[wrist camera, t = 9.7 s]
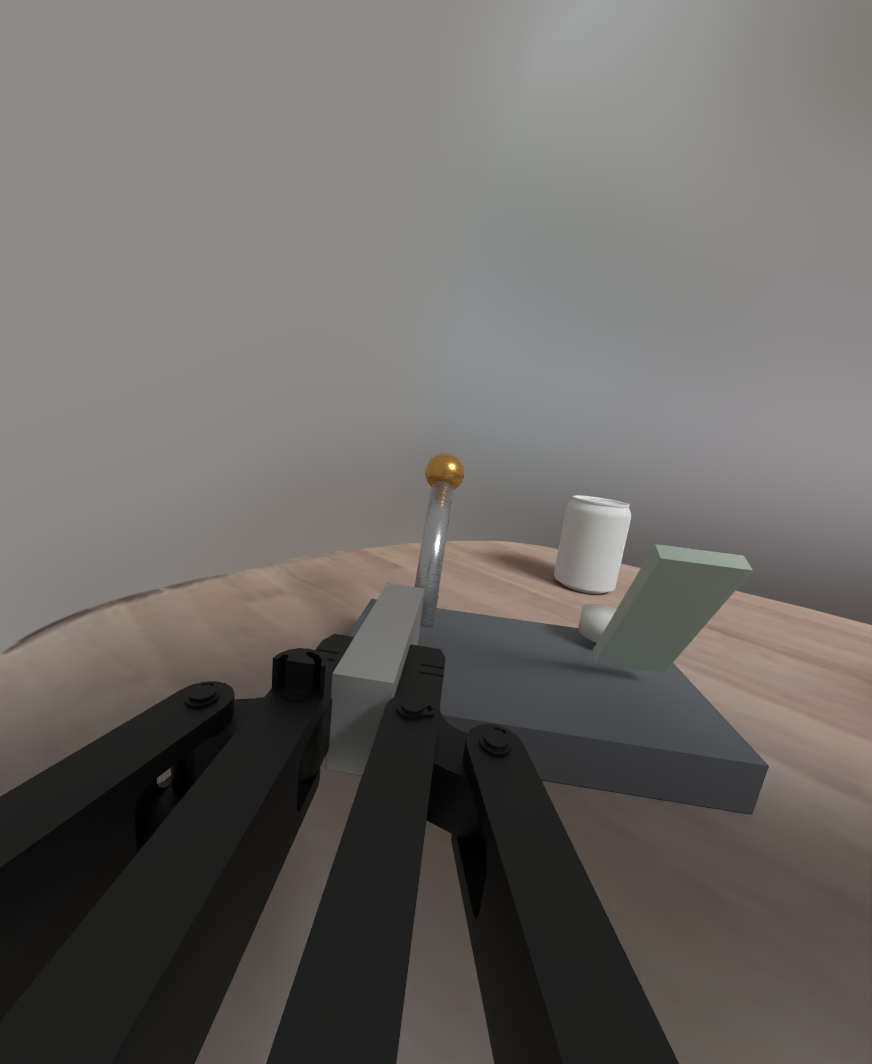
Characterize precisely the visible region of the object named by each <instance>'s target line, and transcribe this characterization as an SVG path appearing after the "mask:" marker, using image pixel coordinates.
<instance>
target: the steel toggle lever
mask: <svg viewBox="0 0 872 1064" xmlns="http://www.w3.org/2000/svg"><path fill="white" fill-rule="evenodd" d="M425 475H426V479H427V482H428V483H429V485H430V486H431V492H430V498H429V504H428V510H427V515H426V521H425V527H424V533H423V539H422V545H421V551H420V557H419V563H418V569H417V575H416V581H415V587H417V588H424V598H423V606H422V614H421V623H420V627H424V628H432V627H434V620H435V613H436V606H437V599H438V592H439V585H440V578H441V571H442V564H443V557H444V550H445V543H446V537H447V530H448V523H449V515H450V509H451V502H452V494H453V490H454V489H456V488H457V487H458V486H459V485H460V484H461V482H462V480H463V477H464V468H463V465H462V463H461V462H460V460H459V459H458V458H457V457H455V456H454V455H452V454H447V453H442V454H438V455H436V456H434V457H433V458H432V459H431V460H430V461H429V462H428V464H427V467H426V471H425Z"/></svg>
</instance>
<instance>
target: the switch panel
mask: <svg viewBox="0 0 872 1064" xmlns="http://www.w3.org/2000/svg"><path fill="white" fill-rule="evenodd" d="M376 601H377V600H376V599H371V600H370V602H369V604H368V605H367V607H366V608H365V610H364V611H363V613H362V615H361V616H360V618H359V619H358V621H357V622H356V624H355V626H354V627H353V629H352V630H351V632H350V633H349V635H348V636H351V637H355V636H356V634H357V632H358V631H359V629H360V627H361V626H362V624H363V622H364V621H365V619H366V618H367V616H368V614H369V613H370V611H371V609H372V608H373V606H374V604H375V603H376ZM596 644H597V643H596V642H593V641H591V640H589V639H587V638H585V637H584V636H582V635H581V634H580V633H579V631H578V628H572V627H565V626H558V625H551V624H544V623H537V622H530V621H523V620H516V619H509V618H502V617H495V616H488V615H481V614H474V613H467V612H460V611H453V610H446V609H439V608H436V613H435V620H434V627H432V628H424V627H420V631H419V640H418V646H425V647H431V648H438V649H441V651H442V652H443V654H444V656H445V657H446V661H445V669H444V677H443V686H442V694H441V702H440V711H441V714H442V716H443V718H444V719H445V720H446V721H447V722H448V723H449V724H450V725H452V726H453V727H455V728H457V729H459V730H461V731H463V732H465V733H468V732H469V731H470V729H472V728H474V727H475V726H477V725H482V724H493V725H499V726H501V727H504V728H506V729H509V730H510V731H512V732H513V733H514V734H516V735H517V736H518V737H519V739H520V740H521V741H522V743H523V744H524V746H525V748H526V750H527V752H528V754H529V756H530V758H531V760H532V762H533V765H534V767H535V769H536V771H537V773H538V775H539V777H540V779H541V780H546V781H552V782H558V783H564V784H570V785H576V786H582V787H588V788H595V789H601V790H607V791H613V792H619V793H625V794H631V795H637V796H643V797H650V798H656V799H662V800H668V801H674V802H680V803H686V804H692V805H698V806H705V807H711V808H717V809H723V810H729V811H735V812H741V813H747V814H752V813H753V810H754V807H755V804H756V802H757V799H758V796H759V793H760V790H761V787H762V784H763V781H764V779H765V776H766V773H767V770H768V767H769V766H768V765H767V764H766V762H765V761H764V760H763V759H762V758H761V757H760V756H759V755H758V754H757V753H756V752H755V751H754V750H753V748H752V747H751V746H750V745H749V744H748V743H747V742H746V741H745V740H744V739H743V738H742V737H741V736H740V734H739V733H738V732H737V731H736V730H735V729H734V728H733V727H732V726H731V725H730V724H729V723H728V722H727V720H726V719H725V718H724V717H723V716H722V715H721V714H720V713H719V712H718V711H717V710H716V709H715V708H714V706H713V705H712V704H711V703H710V702H709V701H708V700H707V699H706V698H705V697H704V696H703V695H702V694H701V692H700V691H699V690H698V689H697V688H696V687H695V686H694V685H693V684H692V683H691V682H690V681H689V680H688V678H687V677H686V676H685V675H684V674H683V673H682V672H681V671H680V670H679V669H678V668H677V667H676V666H675V664H674V663H672V664H671V665H670V666H669V667H668V668H667V670H666V671H665V672H664V673H658V672H651V671H644V670H637V669H631V668H624V667H617V666H610V665H603V664H597V663H595V660H594V655H593V649H594V647H595V645H596Z"/></svg>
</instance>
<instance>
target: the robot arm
mask: <svg viewBox="0 0 872 1064" xmlns="http://www.w3.org/2000/svg"><path fill="white" fill-rule="evenodd" d="M423 598H424V588H417V587H410V586H403V585H396V584H389V583H387V585H386V586H385V588H384V590H383V591H382V593H381V594H380V596H379V598H378V599H377V601H376V603H375V604H374V606H373V608H372V609H371V611H370V613H369V614H368V616H367V618H366V619H365V621H364V622H363V624H362V626H361V627H360V629H359V631H358V632H357V634H356V636H355V637H351V636H344V635H337V634H334V635H332V636H330V637H328V638H326V639H325V640H323V641H322V642H321V643H320V645H319V646H318V647H317V649H316V650H312V649H302V648H298V649H291V650H287V651H284V652H282V653H279V654H278V655H276V656H275V657H274V658H273V669H272V689H271V690H270V691H269V692H268V694H267V695H266V696H265V697H263V698H255V699H237V700H234V691H233V689H232V687H231V686H229V685H227V684H226V683H221V682H216V681H215V682H211V681H210V682H202V683H198V684H193V685H190V686H188V687H186V688H184V689H182V690H180V691H178V692H176V693H175V694H173V695H171V696H170V697H168V698H166V699H164V700H163V701H161V702H159V703H158V704H156V705H154V706H153V707H151V708H149V709H148V710H146V711H144V712H143V713H141V714H139V715H137V716H136V717H134V718H132V719H131V720H129V721H127V722H126V723H124V724H122V725H121V726H119V727H117V728H116V729H114V730H112V731H110V732H109V733H107V734H105V735H104V736H102V737H100V738H99V739H97V740H95V741H94V742H92V743H90V744H89V745H87V746H85V747H83V748H82V749H80V750H78V751H77V752H75V753H73V754H72V755H70V756H68V757H67V758H65V759H63V760H62V761H60V762H58V763H56V764H55V765H53V766H51V767H50V768H48V769H46V770H45V771H43V772H41V773H40V774H38V775H36V776H35V777H33V778H31V779H29V780H28V781H26V782H24V783H23V784H21V785H19V786H18V787H16V788H14V789H13V790H11V791H9V792H7V793H6V794H4V795H2V796H1V797H0V1064H195V1061H196V1059H197V1057H198V1055H199V1052H200V1050H201V1048H202V1046H203V1043H204V1041H205V1039H206V1037H207V1034H208V1032H209V1030H210V1028H211V1025H212V1023H213V1021H214V1019H215V1017H216V1014H217V1012H218V1010H219V1008H220V1005H221V1003H222V1001H223V999H224V996H225V994H226V992H227V990H228V987H229V985H230V983H231V981H232V978H233V976H234V974H235V972H236V969H237V967H238V965H239V963H240V960H241V958H242V956H243V954H244V951H245V949H246V947H247V945H248V942H249V940H250V938H251V936H252V933H253V931H254V929H255V927H256V924H257V922H258V920H259V918H260V916H261V913H262V911H263V909H264V907H265V904H266V902H267V900H268V898H269V895H270V893H271V891H272V889H273V886H274V884H275V882H276V880H277V877H278V875H279V873H280V871H281V868H282V866H283V864H284V862H285V859H286V857H287V855H288V853H289V850H290V848H291V846H292V844H293V841H294V839H295V837H296V835H297V832H298V830H299V828H300V826H301V823H302V821H303V819H304V817H305V814H306V812H307V810H308V808H309V806H310V803H311V801H312V799H313V797H314V794H315V792H316V790H317V788H318V784H319V779H320V766H321V764H322V762H323V760H324V758H325V756H326V753H327V760H326V769H328V770H334V771H340V772H346V773H352V774H357V775H362V778H361V781H360V784H359V787H358V790H357V793H356V796H355V799H354V802H353V805H352V808H351V811H350V814H349V817H348V820H347V823H346V826H345V829H344V832H343V835H342V838H341V841H340V844H339V847H338V850H337V853H336V856H335V859H334V862H333V865H332V868H331V871H330V874H329V877H328V880H327V883H326V886H325V889H324V892H323V895H322V898H321V901H320V904H319V907H318V910H317V913H316V916H315V919H314V922H313V925H312V928H311V931H310V934H309V937H308V940H307V943H306V946H305V949H304V952H303V955H302V958H301V961H300V964H299V967H298V970H297V973H296V976H295V979H294V982H293V985H292V988H291V991H290V994H289V997H288V1000H287V1003H286V1006H285V1009H284V1012H283V1015H282V1018H281V1021H280V1024H279V1027H278V1030H277V1033H276V1036H275V1039H274V1042H273V1045H272V1048H271V1051H270V1054H269V1057H268V1060H267V1063H266V1064H396V1061H397V1053H398V1045H399V1037H400V1029H401V1021H402V1013H403V1005H404V997H405V988H406V980H407V972H408V964H409V956H410V948H411V940H412V932H413V924H414V916H415V908H416V899H417V891H418V883H419V875H420V867H421V859H422V851H423V843H424V835H425V827H426V820H427V821H429V822H431V823H432V824H434V825H436V826H438V827H440V828H442V829H444V830H446V831H448V832H450V833H451V842H452V847H453V852H454V857H455V862H456V868H457V873H458V878H459V883H460V888H461V893H462V898H463V904H464V909H465V914H466V919H467V924H468V929H469V935H470V940H471V945H472V950H473V955H474V960H475V965H476V971H477V976H478V981H479V986H480V991H481V996H482V1002H483V1007H484V1012H485V1017H486V1022H487V1027H488V1032H489V1038H490V1043H491V1048H492V1053H493V1058H494V1063H495V1064H679V1063H678V1061H677V1059H676V1057H675V1055H674V1052H673V1050H672V1048H671V1046H670V1044H669V1042H668V1040H667V1038H666V1036H665V1034H664V1032H663V1030H662V1028H661V1026H660V1024H659V1022H658V1020H657V1018H656V1015H655V1013H654V1011H653V1009H652V1007H651V1005H650V1003H649V1001H648V999H647V997H646V995H645V993H644V991H643V989H642V987H641V985H640V983H639V980H638V978H637V976H636V974H635V972H634V970H633V968H632V966H631V964H630V962H629V960H628V958H627V956H626V954H625V952H624V950H623V948H622V946H621V943H620V941H619V939H618V937H617V935H616V933H615V931H614V929H613V927H612V925H611V923H610V921H609V919H608V917H607V915H606V913H605V911H604V909H603V906H602V904H601V902H600V900H599V898H598V896H597V894H596V892H595V890H594V888H593V886H592V884H591V882H590V880H589V878H588V876H587V874H586V871H585V869H584V867H583V865H582V863H581V861H580V859H579V857H578V855H577V853H576V851H575V849H574V847H573V845H572V843H571V841H570V839H569V837H568V834H567V832H566V830H565V828H564V826H563V824H562V822H561V820H560V818H559V816H558V814H557V812H556V810H555V808H554V806H553V804H552V802H551V800H550V797H549V795H548V793H547V791H546V789H545V787H544V785H543V783H542V781H541V779H540V777H539V775H538V773H537V771H536V769H535V767H534V765H533V762H532V760H531V758H530V756H529V754H528V752H527V750H526V748H525V746H524V744H523V743H522V741H521V740H520V739H519V737H518V736H517V735H516V734H514V733H513V732H512V731H510V730H509V729H506V728H504V727H501V726H499V725H493V724H482V725H477V726H475V727H474V728H472V729H470V731H469V732H468V733H465V732H463V731H461V730H459V729H457V728H455V727H453V726H452V725H450V724H449V723H448V722H447V721H446V720H445V719H444V718H443V716H442V714H441V711H440V702H441V694H442V686H443V677H444V669H445V661H446V657H445V656H444V654H443V652H442V651H441V649H438V648H431V647H425V646H418V640H419V631H420V623H421V614H422V606H423ZM170 767H171V776H170V777H168V778H167V779H166V780H165V781H163V782H161V783H159V784H157V777H159V776H160V775H161V774H163V773H164V772H165V771H167V770H168V769H169V768H170Z"/></svg>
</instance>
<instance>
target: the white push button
mask: <svg viewBox="0 0 872 1064" xmlns="http://www.w3.org/2000/svg"><path fill="white" fill-rule="evenodd" d="M616 610H617V609H614V608H611V607H608V606H603V605H595V604H589V605H585V606H583V608H582V613H581V618H580V623H579V627H578V631H579V633H580V634H581V635H582V636H584V637H585V638H587V639H589V640H591V641H593V642H596V643H597V642H598V640H599V638H600V637H601V635H602V633H603V632H604V630H605V628H606V627H607V625H608V623H609V622H610V620H611V618H612V616H613V615H614V613H615V611H616Z"/></svg>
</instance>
